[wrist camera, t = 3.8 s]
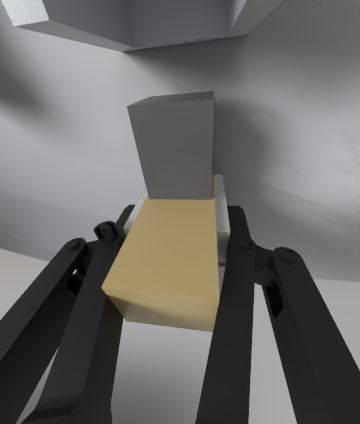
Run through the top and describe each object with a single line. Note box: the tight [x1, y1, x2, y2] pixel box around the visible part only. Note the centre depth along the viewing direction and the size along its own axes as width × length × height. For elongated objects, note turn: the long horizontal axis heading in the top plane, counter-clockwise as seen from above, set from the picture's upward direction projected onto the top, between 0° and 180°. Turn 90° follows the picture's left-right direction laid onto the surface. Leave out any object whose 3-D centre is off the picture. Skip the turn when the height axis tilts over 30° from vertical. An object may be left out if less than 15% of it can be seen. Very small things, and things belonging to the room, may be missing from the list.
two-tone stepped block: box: [101, 91, 220, 332], centre depth 12 cm, size 4×17×10 cm, turn 5°
